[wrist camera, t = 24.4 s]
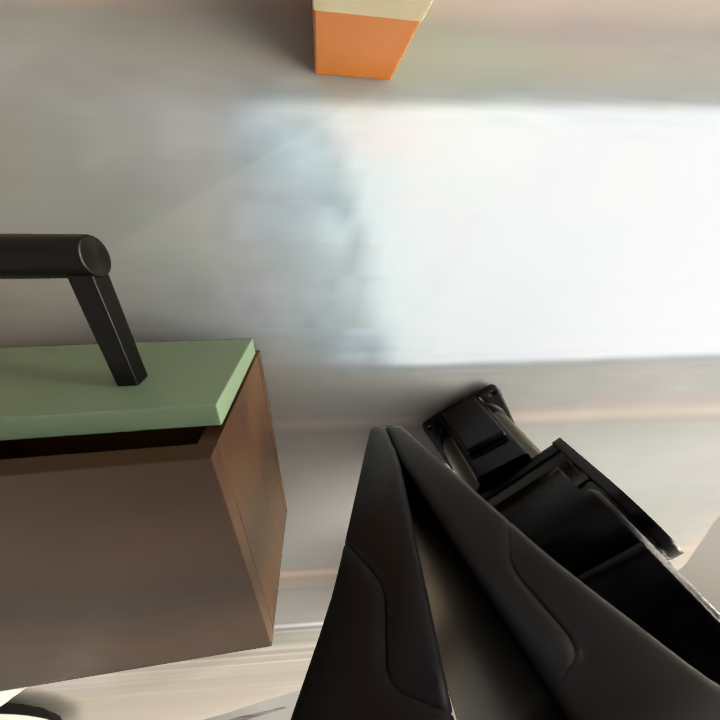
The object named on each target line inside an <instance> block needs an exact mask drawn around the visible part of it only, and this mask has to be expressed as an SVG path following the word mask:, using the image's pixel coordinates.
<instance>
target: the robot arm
mask: <svg viewBox="0 0 720 720" xmlns="http://www.w3.org/2000/svg"><path fill="white" fill-rule="evenodd" d="M492 390H493V391H492ZM491 391H492V392H491ZM428 426H430V427H428ZM422 427H423V429H424V431H425V433H426V434H427V436H428V437H429V438H430V440H431V441H432V443H433V444H434V445H435V447H436V448H437V450H438V451H439V452H440V454H441V455H442V457H443V458H444V460H445V461H446V462H447V464H448V465H449V467H450V468H451V469H452V470H454V471H455V473H456V474H455V473H454V472H453V471H452V470H451V469H449V468H448V467H447V466H446V465H445V464H444V463H443V462H441V461H440V460H439V459H438V458H437V457H436V456H435V455H434V454H432V453H431V452H430V451H429V450H428V449H427V448H426V447H424V446H423V445H422V444H421V443H420V442H419V441H418V440H417V439H415V438H414V437H413V436H412V435H411V434H410V433H409V432H407V431H406V430H405V429H404V428H403V427H402V426H388V427H386V428H385V427H373V428H371V429H370V433H369V437H368V442H367V446H366V451H365V455H364V460H363V464H362V469H361V473H360V478H359V482H358V487H357V491H356V496H355V500H354V505H353V509H352V514H351V518H350V523H349V527H348V532H347V536H346V541H345V546H344V549H343V553H342V558H341V562H340V567H339V571H338V575H337V579H336V582H335V586H334V590H333V594H332V598H331V601H330V604H329V607H328V611H327V614H326V617H325V620H324V623H323V626H322V630H321V633H320V636H319V639H318V642H317V645H316V648H315V650H314V653H313V656H312V659H311V662H310V665H309V668H308V671H307V674H306V677H305V680H304V682H303V685H302V688H301V691H300V694H299V697H298V700H297V703H296V706H295V709H294V711H293V714H292V718H291V720H454V718H453V716H452V715H451V713H452V707H451V703H450V699H451V702H452V705H453V708H454V712H455V715H456V718H457V720H720V613H719V612H717V610H716V609H715V608H714V607H713V606H712V605H711V604H710V603H709V602H708V601H707V600H706V599H705V598H704V597H703V596H702V595H701V594H700V593H699V592H698V591H697V590H696V589H695V588H694V587H693V586H692V585H691V584H690V583H689V582H688V581H687V580H686V579H685V578H684V577H683V576H682V575H681V574H680V573H679V572H678V571H677V569H676V568H675V567H674V566H673V565H672V564H671V563H670V562H669V561H668V560H670V559H673V558H675V557H677V556H679V555H681V554H683V551H682V550H681V548H680V547H679V546H678V545H677V544H676V543H675V542H674V541H673V540H672V539H671V537H670V536H669V535H668V534H667V533H666V532H665V531H664V530H663V529H662V528H661V527H660V526H659V525H658V524H657V523H656V522H655V521H654V520H653V519H652V518H651V517H649V516H648V515H647V514H646V513H645V512H644V511H643V510H642V509H641V508H640V507H639V506H638V505H637V504H636V503H635V502H634V501H633V500H631V499H630V498H629V497H628V496H627V495H626V494H625V493H624V492H623V491H622V490H620V489H619V488H618V487H617V486H616V485H615V484H614V483H613V482H611V481H610V480H609V479H608V478H607V477H605V476H604V475H603V474H602V473H601V472H600V471H598V470H597V469H596V468H595V467H594V466H593V465H591V464H590V463H589V462H588V461H587V460H586V459H584V458H583V457H582V456H581V455H580V454H578V453H577V452H576V451H575V450H574V449H573V448H571V447H570V446H569V445H568V444H567V443H566V442H564V441H563V440H562V439H561V438H558V439H557V440H555V441H554V442H553V445H551V446H550V447H548V448H547V449H545V450H544V451H542V452H541V451H540V450H539V449H538V448H537V447H536V446H535V445H534V444H533V443H532V442H531V441H530V440H529V438H528V437H527V436H526V435H525V434H524V433H523V432H522V431H521V430H520V429H519V428H518V427H517V426H516V425H515V423H514V421H513V419H512V417H511V414H510V412H509V410H508V408H507V406H506V403H505V401H504V399H503V397H502V395H501V392H500V390H499V389H498V388H497V387H496V386H495V385H493V384H492V385H488V386H486V387H485V388H483V389H481V390H479V391H478V392H476V393H474V394H472V395H471V396H469V397H467V398H465V399H463V400H462V401H460V402H458V403H456V404H455V405H453V406H451V407H449V408H448V409H446V410H444V411H442V412H440V413H439V414H437V415H435V416H433V417H432V418H430V419H428V420H426V421H425V422H424V423H423V424H422ZM448 692H449V693H448ZM449 695H450V698H449Z"/></svg>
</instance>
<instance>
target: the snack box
mask: <svg viewBox="0 0 720 720" xmlns="http://www.w3.org/2000/svg"><path fill="white" fill-rule="evenodd" d="M432 1H433V0H312V11H313V34H314V57H315V72H316V74H323V75H336V76H348V77H361V78H374V79H386V80H390V79H391V78H392V76H393V74H394V72H395V70H396V68H397V66H398V64H399V62H400V60H401V58H402V56H403V54H404V52H405V50H406V49H407V47H408V45H409V43H410V41H411V39H412V37H413V35H414V33H415V31H416V29H417V27H418V25H419V23H420V22H421V21H422V20H423V19H424V17H425V15H426V13H427V11H428V9H429V7H430V5H431V3H432Z"/></svg>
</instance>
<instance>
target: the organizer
mask: <svg viewBox="0 0 720 720" xmlns="http://www.w3.org/2000/svg"><path fill="white" fill-rule="evenodd" d="M286 512H287V509H286V503H285V497H284V491H283V486H282V480H281V474H280V468H279V462H278V456H277V450H276V444H275V438H274V432H273V426H272V420H271V414H270V409H269V403H268V397H267V391H266V385H265V379H264V373H263V367H262V361H261V355H260V351H259V350H256V351H255V355H254V357H253V359H252V361H251V364H250V366H249V368H248V370H247V372H246V374H245V376H244V378H243V381H242V383H241V385H240V387H239V389H238V391H237V393H236V395H235V398H234V400H233V402H232V404H231V406H230V408H229V410H228V412H227V415H226V417H225V419H224V421H223V423H222V424H221V425H211V426H206V428H205V430H204V432H203V434H202V435H201V437H200V439H199V441H198V443H197V444H191V445H178V446H165V447H153V448H140V449H128V450H115V451H102V452H90V453H77V454H64V455H52V456H39V457H27V458H14V459H1V460H0V691H6V690H12V689H18V688H24V687H30V686H36V685H42V684H48V683H54V682H60V681H65V680H71V679H77V678H83V677H89V676H95V675H101V674H107V673H113V672H119V671H125V670H131V669H137V668H143V667H149V666H155V665H161V664H167V663H173V662H179V661H185V660H191V659H197V658H203V657H209V656H215V655H220V654H226V653H232V652H238V651H244V650H250V649H256V648H262V647H268V646H271V645H272V639H273V628H274V620H275V611H276V602H277V593H278V584H279V575H280V566H281V557H282V548H283V540H284V531H285V522H286Z"/></svg>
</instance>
